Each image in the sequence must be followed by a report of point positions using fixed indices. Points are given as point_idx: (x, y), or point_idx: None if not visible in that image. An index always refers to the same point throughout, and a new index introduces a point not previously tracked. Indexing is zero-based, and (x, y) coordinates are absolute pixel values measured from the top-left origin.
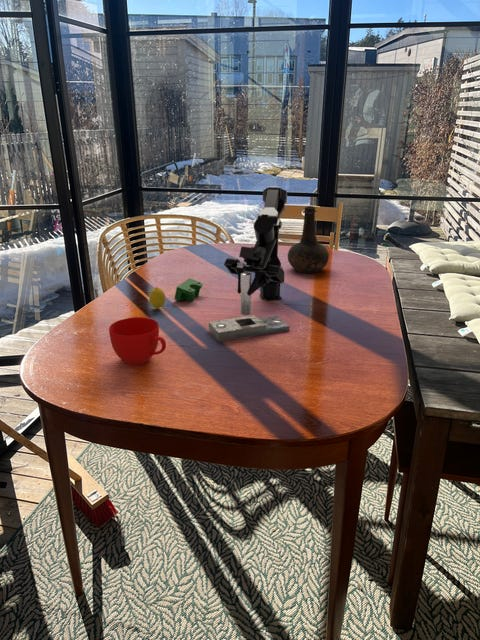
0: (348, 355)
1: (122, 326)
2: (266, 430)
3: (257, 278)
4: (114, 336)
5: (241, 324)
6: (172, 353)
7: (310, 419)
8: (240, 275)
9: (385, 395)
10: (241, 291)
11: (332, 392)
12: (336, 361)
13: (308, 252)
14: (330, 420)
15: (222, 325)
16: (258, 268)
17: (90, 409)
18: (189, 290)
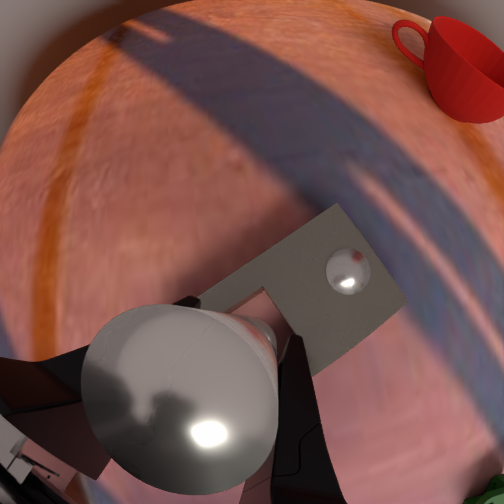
0: (11, 227)
1: None
2: (171, 9)
3: (53, 371)
4: (475, 34)
5: (277, 363)
6: (413, 129)
7: (117, 37)
8: (301, 485)
9: (20, 119)
10: (261, 327)
11: (71, 92)
12: (31, 191)
13: None
14: (96, 46)
15: (343, 270)
16: (14, 497)
17: (395, 10)
18: (491, 502)
